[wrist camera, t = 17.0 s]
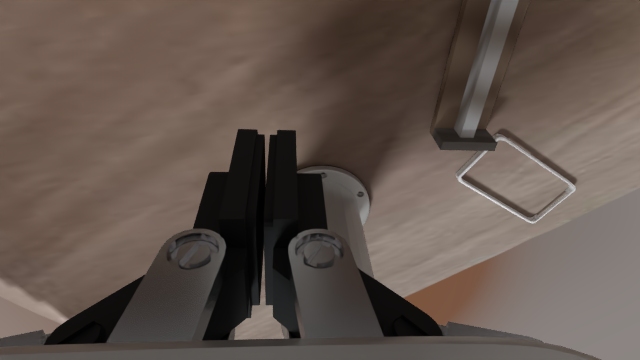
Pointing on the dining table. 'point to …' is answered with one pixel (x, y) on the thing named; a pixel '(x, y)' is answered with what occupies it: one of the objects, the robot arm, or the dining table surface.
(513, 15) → the rail base
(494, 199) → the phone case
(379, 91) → the dining table surface
